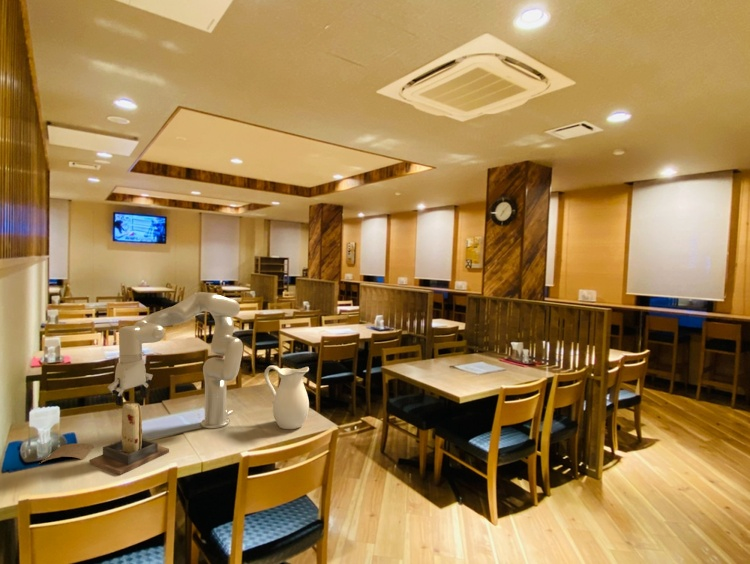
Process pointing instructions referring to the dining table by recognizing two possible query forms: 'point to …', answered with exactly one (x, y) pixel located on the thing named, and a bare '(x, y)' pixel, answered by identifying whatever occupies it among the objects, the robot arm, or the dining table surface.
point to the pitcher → (289, 397)
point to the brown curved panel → (71, 451)
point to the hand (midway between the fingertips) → (131, 401)
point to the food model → (131, 427)
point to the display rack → (127, 456)
